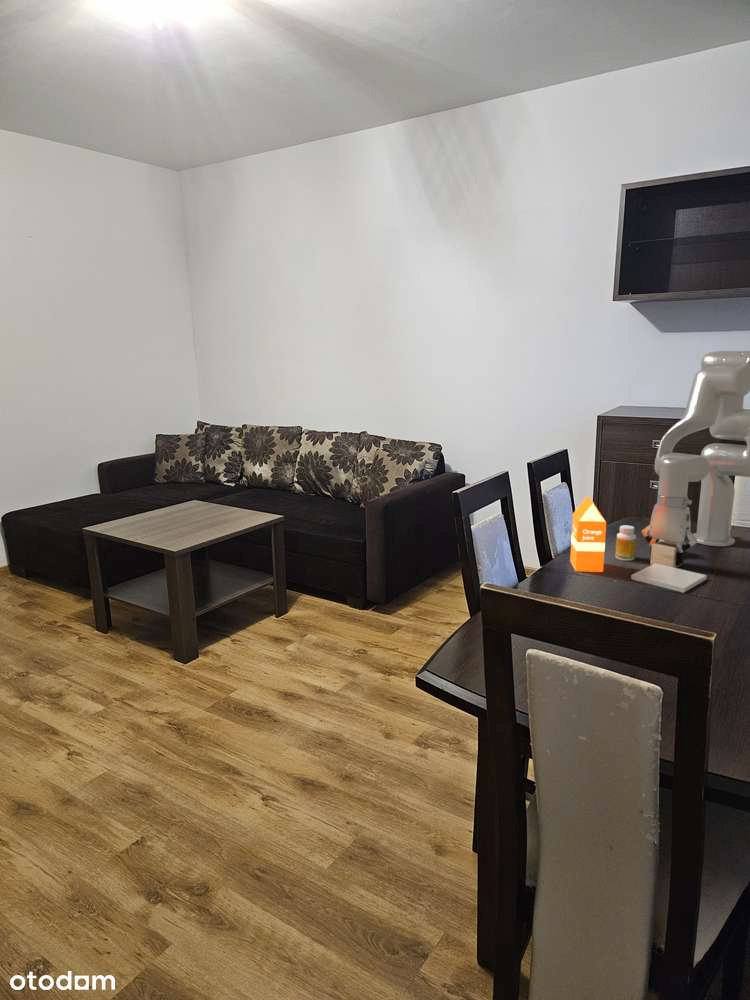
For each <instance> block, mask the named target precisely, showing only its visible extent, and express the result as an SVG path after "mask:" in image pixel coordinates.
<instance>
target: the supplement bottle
mask: <svg viewBox="0 0 750 1000" xmlns="http://www.w3.org/2000/svg"><path fill="white" fill-rule="evenodd" d="M615 541H616V543H615V555H614V556H615V558H616V559H617V560H620V561H626V562H627V561H628V562H630V561H634V560H635V557H636V547H637V546H636V545H637V535H636V534H635V527H634V526H633V525H628V524H627V525H626V524H625V525H624V524H623V525H620V526H619V532H618V533H617V534H616V540H615Z"/></svg>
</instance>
